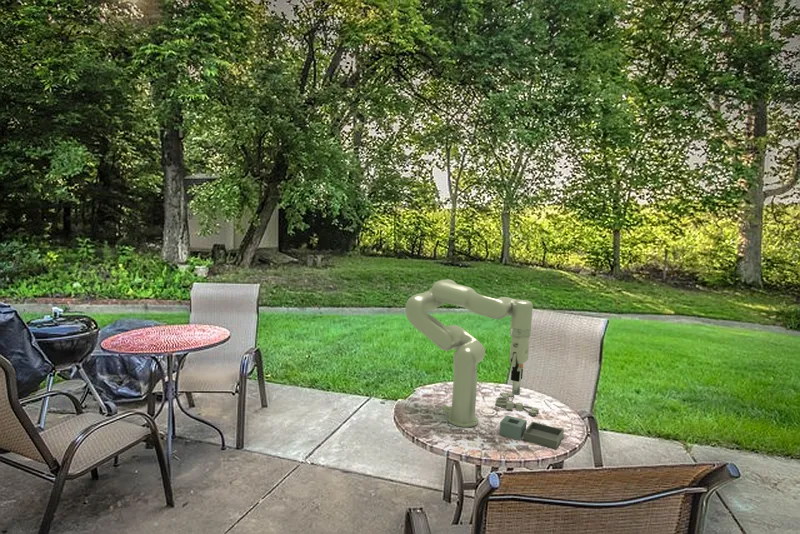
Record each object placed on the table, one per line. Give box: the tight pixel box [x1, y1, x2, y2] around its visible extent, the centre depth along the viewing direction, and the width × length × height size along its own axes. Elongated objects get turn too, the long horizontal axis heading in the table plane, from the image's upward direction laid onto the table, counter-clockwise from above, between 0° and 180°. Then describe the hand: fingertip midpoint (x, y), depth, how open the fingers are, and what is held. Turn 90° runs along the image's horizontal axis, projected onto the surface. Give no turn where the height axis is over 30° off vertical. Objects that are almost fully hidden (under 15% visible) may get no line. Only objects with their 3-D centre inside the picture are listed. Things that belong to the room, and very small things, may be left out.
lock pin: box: [511, 361, 524, 396], centre depth 177 cm, size 4×4×12 cm
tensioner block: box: [498, 415, 528, 441], centre depth 179 cm, size 8×8×5 cm
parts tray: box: [522, 421, 565, 450], centre depth 176 cm, size 12×12×3 cm
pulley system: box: [495, 391, 540, 417], centre depth 209 cm, size 27×5×15 cm
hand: (516, 379), depth 177 cm, fingers closed on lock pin, 3 cm apart
